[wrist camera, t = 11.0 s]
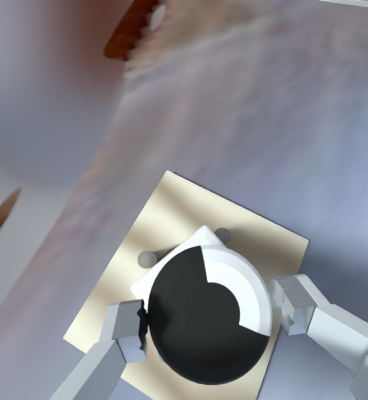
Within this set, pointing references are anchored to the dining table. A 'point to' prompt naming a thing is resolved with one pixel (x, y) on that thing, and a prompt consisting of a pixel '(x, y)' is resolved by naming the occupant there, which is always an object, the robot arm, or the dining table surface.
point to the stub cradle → (159, 248)
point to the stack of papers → (350, 2)
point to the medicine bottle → (206, 310)
